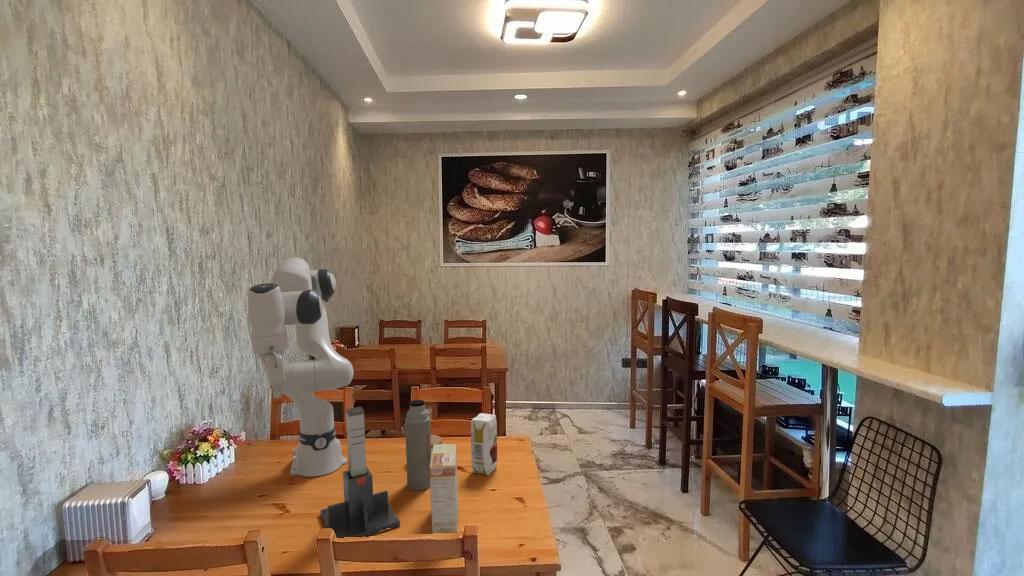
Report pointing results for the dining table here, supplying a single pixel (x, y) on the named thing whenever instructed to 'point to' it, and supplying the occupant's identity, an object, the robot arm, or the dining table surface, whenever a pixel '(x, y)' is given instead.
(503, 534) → the dining table surface
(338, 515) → the jack stand
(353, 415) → the steel column
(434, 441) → the lidded jar
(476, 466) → the juice carton
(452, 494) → the coffeecake box
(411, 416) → the thermos bottle
